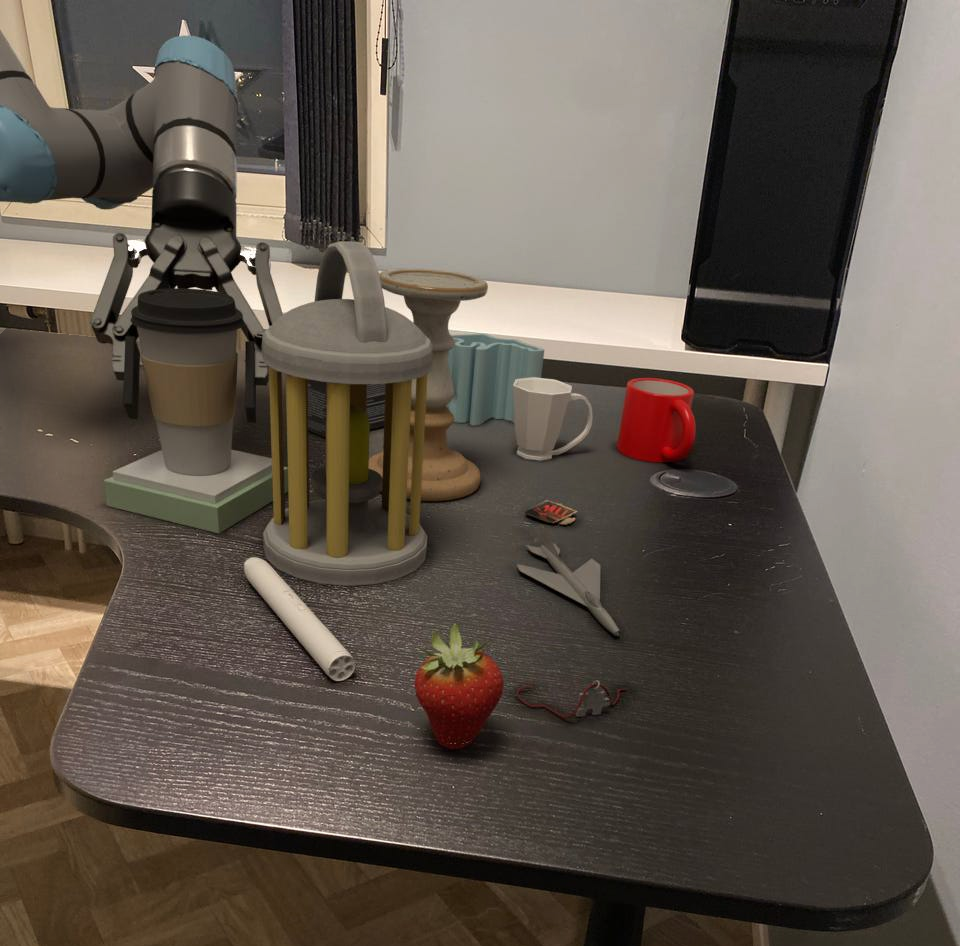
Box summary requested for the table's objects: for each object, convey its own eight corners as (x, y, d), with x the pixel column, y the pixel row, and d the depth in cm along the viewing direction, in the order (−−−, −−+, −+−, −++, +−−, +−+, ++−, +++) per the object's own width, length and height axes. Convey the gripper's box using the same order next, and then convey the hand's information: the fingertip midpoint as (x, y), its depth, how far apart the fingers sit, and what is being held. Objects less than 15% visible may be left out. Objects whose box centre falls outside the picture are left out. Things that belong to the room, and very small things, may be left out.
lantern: (453, 573, 78) (477, 259, 65) (290, 596, 72) (282, 256, 59) (391, 509, 88) (402, 230, 76) (245, 525, 82) (230, 224, 70)
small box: (361, 411, 115) (362, 325, 110) (396, 425, 112) (400, 337, 106) (294, 425, 108) (292, 334, 103) (330, 440, 104) (330, 347, 99)
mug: (658, 476, 103) (672, 408, 99) (604, 442, 113) (614, 378, 109) (714, 472, 106) (730, 405, 102) (657, 439, 116) (669, 376, 112)
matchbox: (521, 517, 89) (522, 512, 89) (541, 501, 93) (541, 496, 93) (566, 528, 88) (566, 524, 88) (583, 511, 92) (584, 507, 92)
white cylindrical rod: (236, 574, 74) (234, 547, 73) (261, 569, 75) (259, 543, 74) (327, 684, 61) (327, 655, 60) (355, 677, 63) (356, 648, 61)
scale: (102, 505, 84) (98, 471, 82) (183, 466, 94) (180, 435, 92) (219, 534, 80) (216, 499, 79) (289, 491, 90) (288, 459, 89)
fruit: (413, 717, 59) (419, 609, 55) (495, 722, 59) (507, 615, 55) (409, 766, 55) (415, 653, 51) (498, 771, 55) (511, 659, 51)
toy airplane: (572, 645, 69) (576, 619, 68) (485, 532, 86) (487, 509, 85) (662, 636, 71) (667, 611, 70) (560, 528, 88) (563, 506, 87)
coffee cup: (150, 447, 88) (133, 284, 80) (250, 448, 90) (243, 289, 83) (142, 483, 80) (122, 306, 73) (252, 483, 83) (244, 311, 75)
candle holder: (394, 452, 103) (402, 261, 93) (496, 474, 99) (516, 279, 89) (342, 486, 93) (344, 276, 82) (453, 512, 89) (470, 296, 79)
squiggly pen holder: (503, 403, 124) (509, 332, 119) (538, 425, 116) (547, 350, 112) (378, 409, 116) (380, 334, 112) (407, 434, 109) (411, 354, 104)
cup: (497, 444, 108) (504, 376, 104) (576, 444, 111) (585, 377, 107) (514, 464, 103) (522, 393, 99) (596, 464, 105) (607, 394, 101)
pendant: (534, 728, 59) (539, 694, 58) (513, 691, 63) (517, 658, 61) (645, 716, 61) (653, 682, 60) (618, 681, 65) (625, 648, 64)
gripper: (314, 230, 91) (319, 436, 85) (79, 215, 87) (67, 430, 81) (315, 175, 84) (319, 396, 78) (58, 155, 79) (44, 387, 74)
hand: (191, 413), depth 80 cm, fingers closed on coffee cup, 9 cm apart
